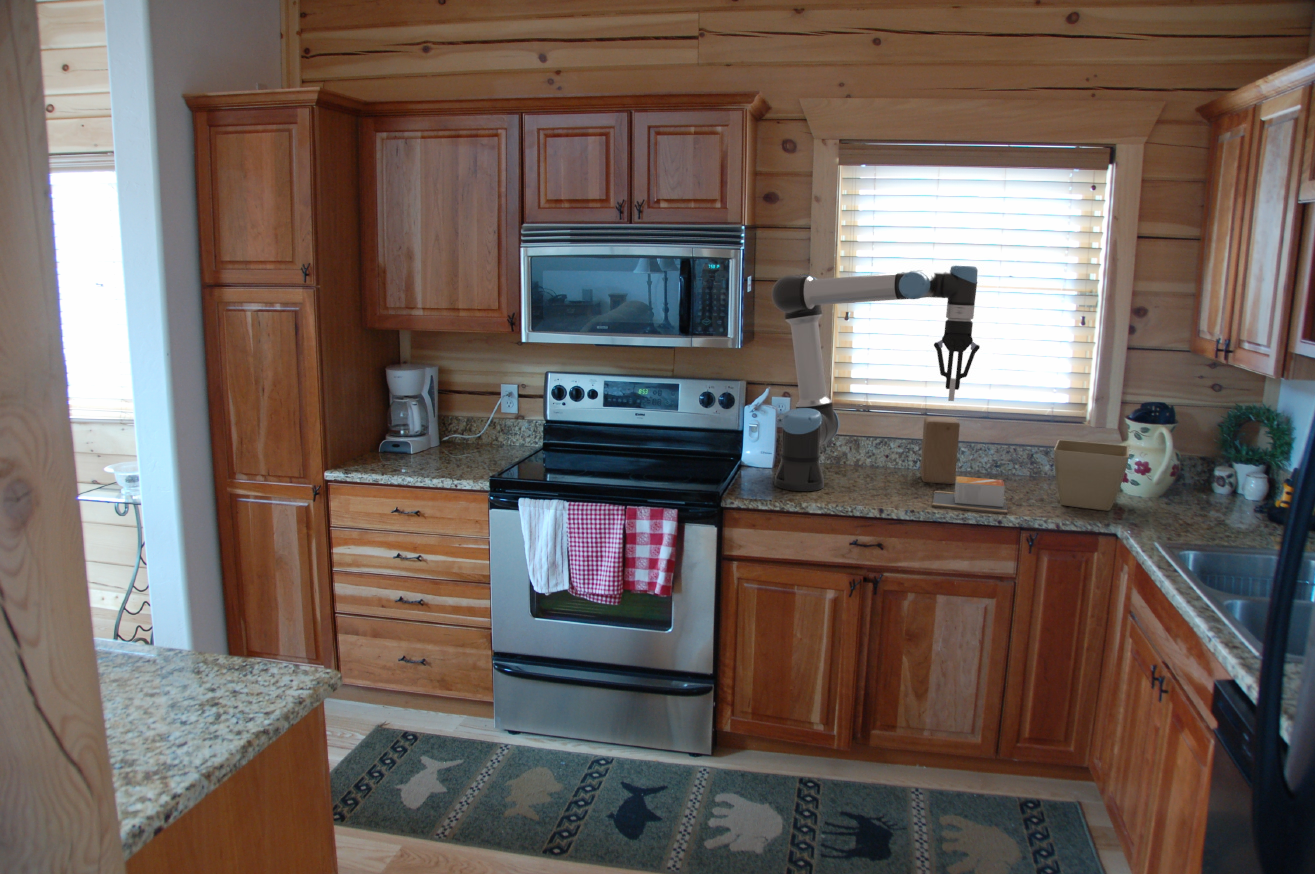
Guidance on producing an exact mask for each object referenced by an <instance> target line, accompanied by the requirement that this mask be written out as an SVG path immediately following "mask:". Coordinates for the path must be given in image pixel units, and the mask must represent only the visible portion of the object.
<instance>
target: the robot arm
mask: <svg viewBox="0 0 1315 874" xmlns="http://www.w3.org/2000/svg"><path fill="white" fill-rule="evenodd" d="M978 272H979V271H978V268H977V266H975V265H956V264H955V265H954V264H953V265H951V266H950V269H949V271H936V270H935V271H932V270H910V271H906V272H904V271H903V272H891V273H890V272H889V273H880V274H867V275H856V276H855V275H853V276H842V277H841V276H840V277H830V278H829V277H828V278H827V277H826V278H816V277H815V276H812V275H809V274H805V273H803V274H789V275H788V274H787V275H785V276H782V277H780V278H779V279H777V280H776V282H775V283H774V285H773V286H772V289H771V300H772V302H773V304H774V306H775V307H776V308H777V309H778V310H779V311H781V312H783V313H784V320H785V322H787V323H788V324H789V325H790V331H791V337H792V345H793V355H794V361H795V370H796V371H795V372H796V379H797V387H798V396H799V399H798V402H797V403H796V404H795V408H792V409H789V410H787V411H785V412H784V414H783V416H782V423H781V457H780V463H779V465H778V468H777V469H776V474H775V476H774V486H775V487H777V488H779V489H782V490H787V491H793V492H815V491H820V490H822V489H824V487H825V479H824V474H823V471H822V467H821V464H820V454H821V452H820V451H821V446H822V445H825V444H827V443H829V442H831V441H832V439H834V437H835V436H836V435H837V434H838V432H839V429H840V419H839V416H838V414H837V412H836V411H835V410H834V405H833V404H834V403H833V400H832V399H830V398H829V397H828V396H827V395H828V393H827V387H826V378H825V377H826V376H825V371H824V369H825V368H824V361H823V351H822V345H821V335H820V328H819V325H820V324H819V321H820V319H821V318H822V316H823V310H822V309H823V308H822V305H823V306H824V305H839V304H850V303H867V302H868V303H869V302H883V301H896V300H897V301H898V300H918V299H923V298H933V299H934V298H937V299H938V298H939V299H940V298H941V299H947V302H946V303H947V304H946V314H945V318H946V320H945V323H944V333H943V334H944V335H943V336H942V337H941V339H940V340H939V341H936V342H934V344H933V347H934V348H935V350H936V354H937V359H938V360H937V361H938V366H939V373H940V376H942V377H945V378H946V379H945V389H946V390H949V391H948V402H954V401H955V394H956V391H957V390H958V391H959V390H960V386H961V384H960V383H961V379H963V378H966V377H967V376H968V374H969V371H970V369H971V366H972V363H973V360H974V358H975V354H976V353H977V352H978V350H980V348H981V347H980V345H979V344H977V343H976V342H975V341H974V339H973V337H972V333H973V324H974V322H973V321H972V320H973V319H974V316H975V314H974V313H975V303H976V296H977V287H978ZM944 346H945V348H946V349H947V351H948V358H947V359H948V360H947V369H946V370H945V363H944V357H943V350H942V348H943V347H944ZM969 347H970V354H969V356H968V359H967V362H966V365H965V368H964V370H963V372H962V368H963V367H962V366H963V357H964V355H963V354H964V352H965V351H966V350H967V349H968V348H969ZM955 352H956V353H957V363H956V370H955V371H956V373H955V377H952V371H953V362H954V354H955Z"/></svg>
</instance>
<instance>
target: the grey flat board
mask: <svg viewBox="0 0 1315 874" xmlns="http://www.w3.org/2000/svg"><path fill="white" fill-rule="evenodd" d="M954 494H955V492H952V491H951V492H950V491H943V490H942V491H941V490H935V491H934V494H933V500H932V504H931V507H932V508H938V509H945V510H946V509H948V510H957V511H959V510H960V511H967V510H968V511H967V512H970V511H971V512H977V513H978V512H979V513H990V514H999V515H1008V505H1007V500H1006V499H1007V497H1005V496H1004V502H1003V507H996V506H984V505H972V504H959V503H955V497H954Z"/></svg>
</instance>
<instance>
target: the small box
mask: <svg viewBox="0 0 1315 874" xmlns="http://www.w3.org/2000/svg"><path fill="white" fill-rule="evenodd" d="M954 484H955V485H954V486H955V487H954V493H955V494H954V497H955V503H959V504H972V505H984V506H996V507H1003V502H1004V497H1005V489H1006V487H1005V483H1004V480H1003V479H993V478H983V477H982V478H980V477H969V476H956V477H955V482H954Z"/></svg>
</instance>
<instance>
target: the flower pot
mask: <svg viewBox="0 0 1315 874" xmlns="http://www.w3.org/2000/svg"><path fill="white" fill-rule="evenodd" d="M1129 451H1130V446H1129V445H1122V444H1114V443H1102V442H1100V443H1099V442H1095V441H1094V442H1092V441H1091V442H1090V441H1080V440H1079V441H1078V440H1068V439H1058V440H1057V441H1056V444H1055V446H1054V448H1053V463H1054V474H1055V481H1056V487H1057V493H1058V498H1059V501H1060V505H1062V506H1068V507H1075V508H1082V509H1090V510H1098V511H1108V512H1109V511H1111V509H1112V507H1113V506H1114V503H1115V501H1116V498H1117V497H1118V494H1119V491H1120V489H1121V486H1122V483H1123V480H1124V476H1125V473H1126V470H1127V467H1128V462H1129V460H1130V459H1129V458H1130V454H1129V453H1130V452H1129Z"/></svg>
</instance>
